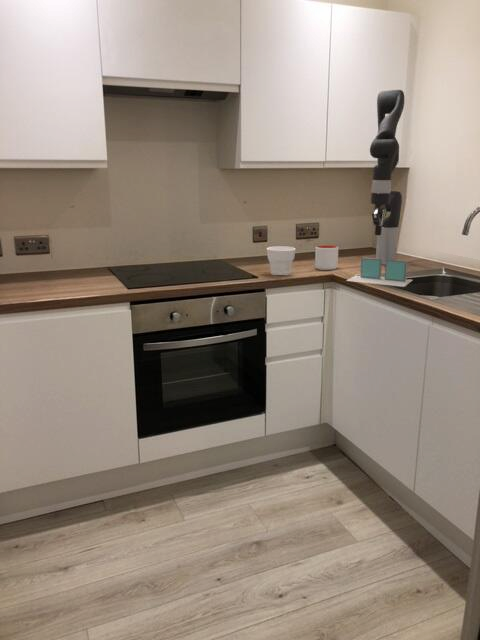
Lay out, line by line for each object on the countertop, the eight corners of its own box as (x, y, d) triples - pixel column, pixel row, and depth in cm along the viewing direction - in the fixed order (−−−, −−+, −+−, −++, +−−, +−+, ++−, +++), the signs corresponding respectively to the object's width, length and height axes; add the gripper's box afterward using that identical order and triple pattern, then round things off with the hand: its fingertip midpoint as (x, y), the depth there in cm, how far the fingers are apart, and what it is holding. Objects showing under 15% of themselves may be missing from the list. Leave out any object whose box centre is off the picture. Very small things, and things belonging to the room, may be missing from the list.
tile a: (361, 276, 213) (362, 257, 211) (380, 278, 209) (382, 258, 207) (360, 277, 212) (361, 258, 210) (379, 279, 208) (380, 259, 206)
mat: (357, 275, 218) (357, 274, 217) (412, 280, 206) (412, 279, 206) (345, 281, 206) (345, 280, 206) (404, 287, 195) (404, 286, 195)
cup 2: (313, 270, 229) (314, 248, 226) (316, 266, 238) (317, 244, 236) (336, 271, 227) (337, 248, 224) (338, 267, 236) (339, 245, 233)
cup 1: (292, 277, 215) (293, 251, 212) (263, 276, 218) (263, 250, 215) (297, 271, 227) (297, 246, 224) (269, 270, 230) (269, 245, 226)
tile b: (385, 278, 208) (387, 259, 206) (405, 280, 205) (407, 260, 202) (384, 279, 207) (385, 260, 205) (404, 281, 203) (406, 261, 201)
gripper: (376, 191, 214) (373, 233, 219) (366, 192, 203) (364, 236, 208) (394, 191, 211) (391, 234, 215) (385, 192, 200) (382, 237, 205)
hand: (378, 235), depth 212 cm, fingers closed
